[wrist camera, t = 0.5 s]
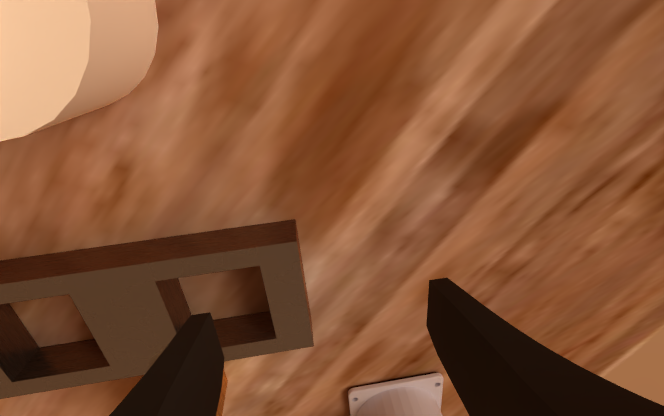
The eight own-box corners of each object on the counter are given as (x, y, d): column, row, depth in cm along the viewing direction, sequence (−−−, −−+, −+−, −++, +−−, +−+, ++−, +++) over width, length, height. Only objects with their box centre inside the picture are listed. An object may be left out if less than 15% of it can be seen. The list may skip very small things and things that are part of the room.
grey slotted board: (295, 219, 20) (296, 241, 18) (311, 317, 24) (313, 346, 22) (-100, 275, 19) (-151, 306, 17) (-19, 371, 22) (-52, 407, 20)
